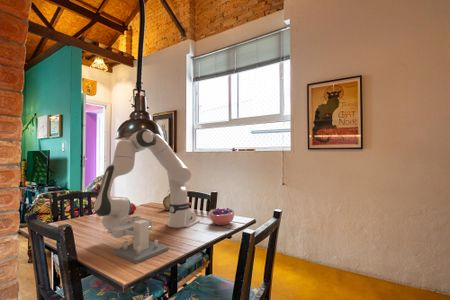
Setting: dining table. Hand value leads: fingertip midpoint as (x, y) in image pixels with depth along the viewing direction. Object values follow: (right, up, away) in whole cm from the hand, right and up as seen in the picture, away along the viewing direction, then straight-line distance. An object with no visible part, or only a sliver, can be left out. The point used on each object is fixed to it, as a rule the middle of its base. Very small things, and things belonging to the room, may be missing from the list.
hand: (142, 230), depth 119 cm
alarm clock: (-6, -11, +85) cm, 86 cm away
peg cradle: (-1, -10, 0) cm, 10 cm away
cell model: (+37, -11, +47) cm, 61 cm away
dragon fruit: (-34, -11, +74) cm, 82 cm away
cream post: (-1, -9, +1) cm, 9 cm away
